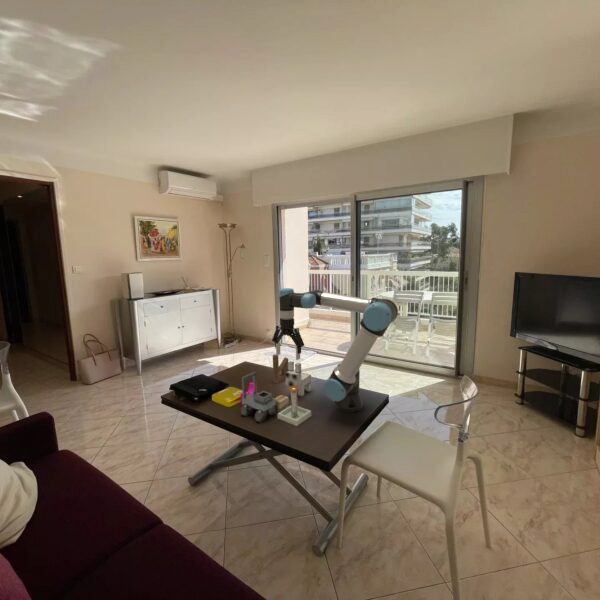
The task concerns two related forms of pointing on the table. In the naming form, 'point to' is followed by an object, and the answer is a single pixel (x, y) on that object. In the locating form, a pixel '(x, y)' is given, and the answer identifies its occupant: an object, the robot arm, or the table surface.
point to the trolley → (257, 401)
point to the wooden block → (279, 369)
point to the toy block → (248, 391)
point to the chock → (282, 402)
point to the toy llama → (298, 378)
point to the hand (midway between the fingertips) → (288, 356)
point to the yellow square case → (227, 396)
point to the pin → (294, 401)
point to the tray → (286, 417)
